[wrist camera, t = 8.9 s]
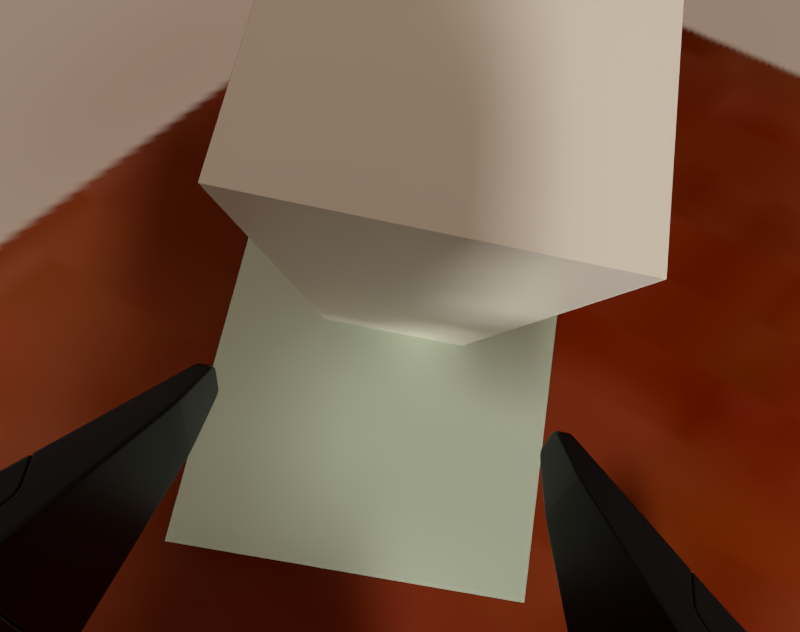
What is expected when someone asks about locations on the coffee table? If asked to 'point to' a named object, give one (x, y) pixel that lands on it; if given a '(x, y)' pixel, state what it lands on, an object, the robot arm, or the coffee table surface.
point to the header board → (368, 445)
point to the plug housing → (453, 155)
